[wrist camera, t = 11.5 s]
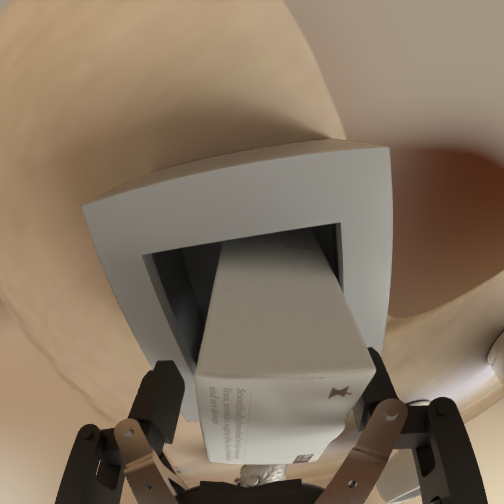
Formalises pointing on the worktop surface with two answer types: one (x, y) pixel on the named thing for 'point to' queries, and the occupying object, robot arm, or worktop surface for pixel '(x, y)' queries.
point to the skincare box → (277, 353)
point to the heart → (261, 474)
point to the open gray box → (238, 226)
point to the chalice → (400, 476)
